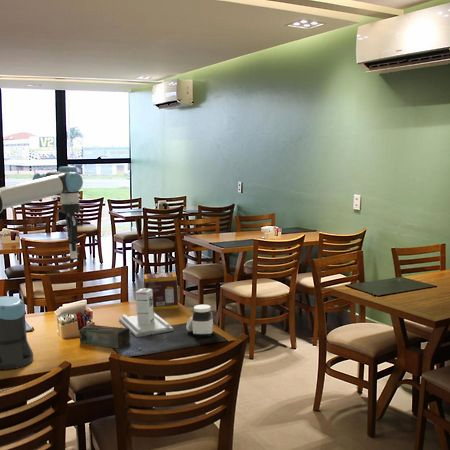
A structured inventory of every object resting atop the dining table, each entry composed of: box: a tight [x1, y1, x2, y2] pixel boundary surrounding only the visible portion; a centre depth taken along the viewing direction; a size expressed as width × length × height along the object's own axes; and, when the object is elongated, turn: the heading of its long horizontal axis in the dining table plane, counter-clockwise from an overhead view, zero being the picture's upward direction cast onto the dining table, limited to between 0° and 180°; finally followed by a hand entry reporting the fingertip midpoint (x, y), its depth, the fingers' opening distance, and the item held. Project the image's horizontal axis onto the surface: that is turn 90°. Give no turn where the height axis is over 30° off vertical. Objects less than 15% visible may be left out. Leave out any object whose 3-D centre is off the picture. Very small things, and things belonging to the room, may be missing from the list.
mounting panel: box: [118, 312, 174, 338], centre depth 244 cm, size 26×16×3 cm, turn 26°
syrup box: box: [135, 287, 155, 325], centre depth 242 cm, size 6×6×14 cm
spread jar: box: [185, 304, 214, 338], centre depth 231 cm, size 12×11×12 cm
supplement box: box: [143, 271, 179, 311], centre depth 273 cm, size 10×15×16 cm
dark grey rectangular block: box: [78, 323, 131, 349], centre depth 223 cm, size 8×19×7 cm, turn 65°
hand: (74, 258), depth 241 cm, fingers closed
